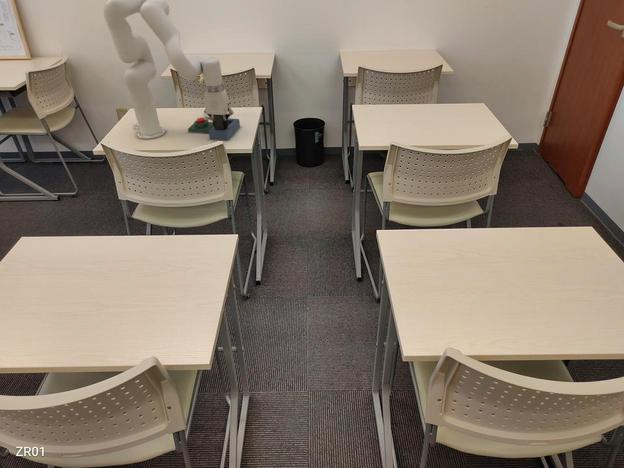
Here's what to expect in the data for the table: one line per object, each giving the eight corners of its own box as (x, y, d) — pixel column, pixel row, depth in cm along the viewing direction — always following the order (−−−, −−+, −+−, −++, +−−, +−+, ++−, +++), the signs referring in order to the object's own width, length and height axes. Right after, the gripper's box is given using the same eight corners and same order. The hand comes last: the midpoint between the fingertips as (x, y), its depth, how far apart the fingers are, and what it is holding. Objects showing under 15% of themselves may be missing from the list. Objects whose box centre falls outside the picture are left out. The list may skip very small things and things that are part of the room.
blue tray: (209, 139, 219) (208, 131, 217) (223, 125, 231) (221, 117, 229) (227, 140, 217) (226, 132, 215) (240, 126, 229) (239, 118, 227)
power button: (196, 123, 226) (195, 120, 225) (199, 120, 229) (198, 117, 228) (203, 124, 226) (202, 120, 225) (206, 121, 228) (205, 117, 227)
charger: (216, 132, 219) (212, 112, 213) (219, 128, 222) (216, 108, 216) (224, 133, 218) (221, 112, 212) (227, 129, 221) (224, 109, 215)
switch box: (188, 132, 227) (187, 125, 225) (196, 124, 234) (195, 117, 232) (208, 133, 225) (206, 126, 223) (215, 125, 232) (214, 118, 230)
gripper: (193, 90, 207) (201, 129, 218) (229, 91, 204) (235, 131, 214) (200, 84, 213) (207, 123, 224) (236, 85, 209) (241, 125, 220)
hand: (221, 127), depth 219 cm, fingers closed on charger, 4 cm apart
